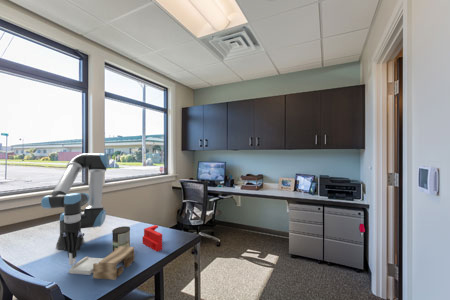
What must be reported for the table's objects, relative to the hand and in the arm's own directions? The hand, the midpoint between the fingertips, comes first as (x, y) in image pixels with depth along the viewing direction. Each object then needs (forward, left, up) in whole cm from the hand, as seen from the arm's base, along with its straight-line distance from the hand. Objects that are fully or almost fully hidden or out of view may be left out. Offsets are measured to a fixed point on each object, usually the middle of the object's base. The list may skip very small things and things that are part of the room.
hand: (72, 263), depth 111 cm
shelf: (+25, 0, -2) cm, 26 cm away
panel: (+9, 0, -2) cm, 10 cm away
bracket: (+35, +30, -2) cm, 46 cm away
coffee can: (+16, +19, -2) cm, 25 cm away
